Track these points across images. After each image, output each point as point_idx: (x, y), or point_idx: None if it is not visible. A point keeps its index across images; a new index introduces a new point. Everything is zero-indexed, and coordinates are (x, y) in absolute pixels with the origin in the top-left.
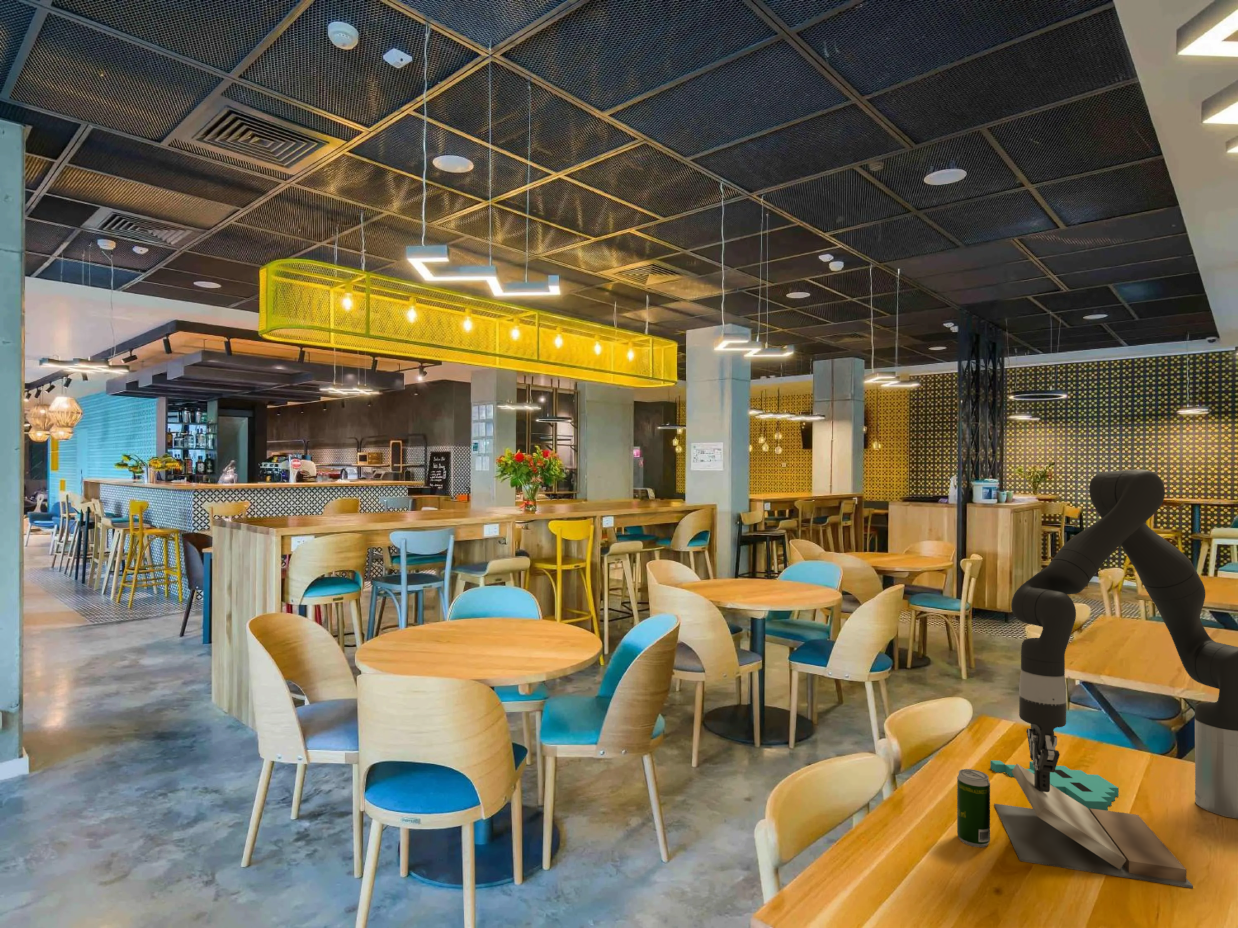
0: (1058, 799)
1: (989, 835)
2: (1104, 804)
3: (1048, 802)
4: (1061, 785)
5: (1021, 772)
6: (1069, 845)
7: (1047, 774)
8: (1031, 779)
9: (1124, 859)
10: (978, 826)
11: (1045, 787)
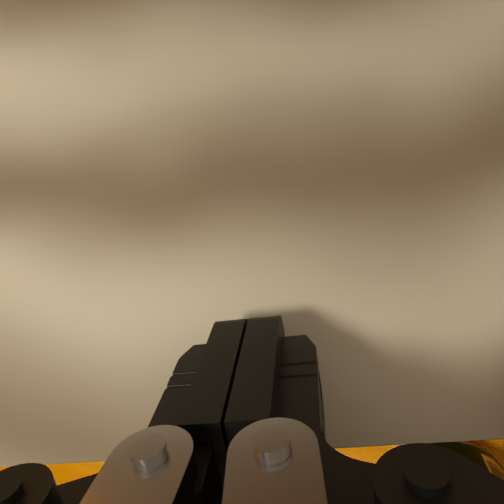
0: (162, 206)
1: (477, 462)
2: None
3: (468, 331)
4: None
5: (37, 462)
6: None
7: (318, 435)
8: (85, 396)
9: None
10: None
11: (318, 365)
